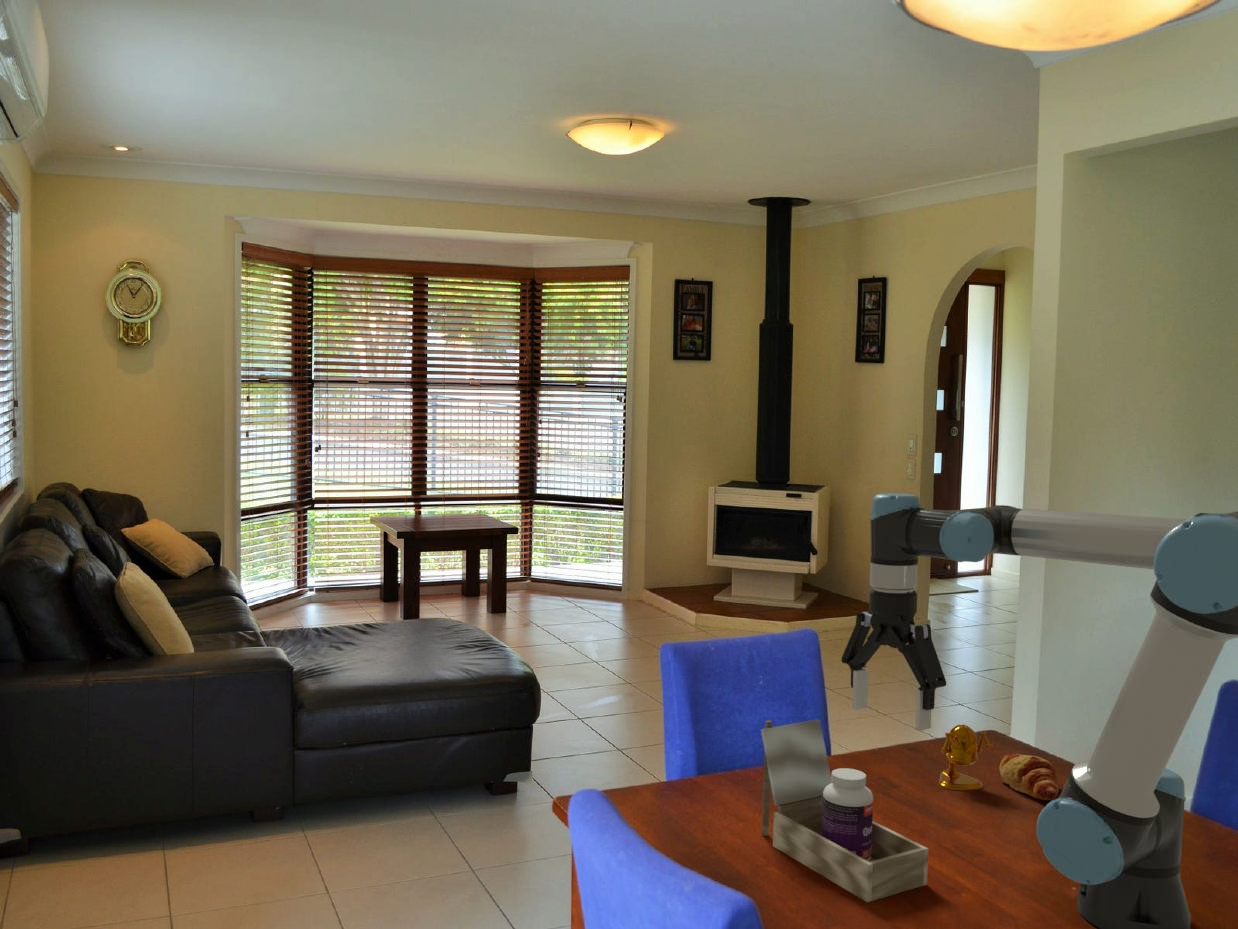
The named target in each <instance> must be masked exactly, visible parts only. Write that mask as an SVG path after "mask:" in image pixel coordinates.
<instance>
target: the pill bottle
mask: <svg viewBox="0 0 1238 929" xmlns="http://www.w3.org/2000/svg"><path fill="white" fill-rule="evenodd" d="M830 775H831V780H832V783H831V784H829V785H827V786H826V787H825V789H824V791H823V812H822V836H823V837H824V838H826V839H828V840H830V841H832V842H834V843H835V844H837V845H839V846H841V847H843V848H845V849H846V850H848V851H850V852H852V853H854V854H855V855H857V856H859V857H861V858H863V859H865V860H866V861H868V862H870V859H871V844H872V821H873V819H874V817H873V816H874V815H873V813H874V794H873V793H872V790H871V789H869V787H867V786H866V785H867V774H866V773H864V772H863V771H861V770H858V769H854V768H847V767H846V768H845V767H844V768H843V767H840V768H836V769H833V770H832V771H831V774H830Z"/></svg>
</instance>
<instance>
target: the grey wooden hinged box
mask: <svg viewBox="0 0 1238 929" xmlns="http://www.w3.org/2000/svg"><path fill="white" fill-rule="evenodd" d="M821 723H822V722H821V720H820V718H819V719H812V720H807V721H801V722H795V723H789V724H785V725H778V726H774V724H773V721H772V720H765V726H764V728H762V729H760V732H761V737H762V743H763V749H764V756H763V757H764V759H763V761H764V762H763V787H762V788H763V789H762V793H763V794H762V816H761V817H762V819H761V835H762V836H763V837H768V836H770V812H771V811H770V808H771V807H770V806H771V794H772V799H773V805H774V806H775V807H776V806H777V811H776V812H773V825H772V826H773V827H772V828H773V829H772V830H773V833H772V847H774V848H775V849H777V850H778V851H780V852H782V853H783V854H786V855H787V856H789V857H790V858H792V859H794V860H796V861H797V862H799V863H800V864H802V865H804V866H805V867H807V868H808V869H811V870H812V871H814V872H816V873H817V874H819V875H821V876H822V877H823V878H825V879H827V880H829V881H830V882H833V883H834V884H836V885H837V886H839V887H841V888H842V889H844V890H845V891H847V892H849V893H851V894H852V895H854V896H856V897H858V898H859V899H861V900H862V901H864V902H866V903H871V902H873V901H876V900H879V899H883V898H887V897H889V896H893V895H897V894H899V893H903V892H906V891H910V890H913V889H916V888H921V887H924V886H926V885H928V871H929V870H928V869H929V866H928V864H929V848H928V847H927V846H924V845H922V844H920V843H918V842H916V841H914V840H912V839H910V838H908V837H906V836H904V835H902V834H900V833H898V832H896V831H894V830H892V829H890V828H888V827H886V826H884V825H882V824H880V823H877V822H876V821H874V820H872V844H871V859H870V862H868V861H866V860H865V859H863V858H861V857H859V856H857V855H855V854H854V853H852V852H850V851H848V850H846V849H845V848H843V847H841V846H839V845H837V844H835V843H834V842H832V841H830V840H828V839H826V838H824V837H823V836H822V812H823V791H824V789H825V787H826V786H827V785H829V784H831V783H832V780H831V775H832V774H831V771H830V765H829V760H828V754H827V750H826V744H825V739H824V734H823V729H822V724H821Z"/></svg>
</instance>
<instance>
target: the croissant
mask: <svg viewBox="0 0 1238 929" xmlns="http://www.w3.org/2000/svg"><path fill="white" fill-rule="evenodd" d="M999 773H1000V776H1001V779H1000V780H1001V783H1004V784H1006V785H1009V788H1011V789H1012V790H1014V791H1017V792H1019V793H1022V794H1023V793H1024V794H1026V795H1028V796H1029V797H1031V798H1035V799H1038V800H1041V801H1052V800H1055V799H1057V798H1058V797H1057V796H1058V794H1059V786H1058V782H1059V781H1058V777H1057V771H1056V769H1055V767H1054V766H1053V764H1052V763H1051V762H1049V761H1048V759H1044V758H1042V757H1040V756H1038V755H1037V756H1035V755H1027V754H1025V755H1024V754H1019V753H1011V754H1007V755H1005V756H1004V757H1003V758H1001V761H1000V764H999Z"/></svg>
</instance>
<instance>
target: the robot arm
mask: <svg viewBox="0 0 1238 929" xmlns="http://www.w3.org/2000/svg"><path fill="white" fill-rule="evenodd" d="M870 515H871V516H870V519H869V522H870V564H869V566H870V567H869V586H870V587H872V588H871V589H870V590H869V593H868V594H869V597H868V598H869V604H868V606H869V607H868V608H869V611H862V612H861V611H860V612H857V614H856V619H855V626H854V628H853V630H852V632H851V634H850V637H849V640H848V643H847V644H846V646H845V649H844V652H843V653H842V655H841V663H842V664H846V665H847V666H848V667H849V669H850V687H851V688H852V710H854V711H857V710H858V711H859V710H863V709H867V708H868V699H869V698H868V697H869V696H868V695H869V694H868V693H869V691H868V690H869V689H868V688H869V687H868V686H869V669H868V667H867V663H869V661H870V660H871V659H872V657H873V656H874V655H875V653H876V652H877V651H878V650H879V649H880V647H881V646H889V647H890V648H893V649H897V650H898V652H899V653H900V654H902V656H903V657H904V659H905V661H906V662H907V665H908V667H909V668H910V670H911V672H912V673H913V676H914V677H915V679H916V681H917V682H918V685H919V687H918V688H916V690H915V691H916V692H915V693H916V694H915V727H914V728H915V730H916V731H918V732H919V731H925V730H929V729H931V728H932V710H934V708H935V702H936V701H935V698H936V697H935V696H936V694H935V693H936V689H938V688H943V687H946V686H947V679H946V677H945V675H944V671H943V668H942V666H941V662H940V660H939V657H938V655H937V650H936V647H935V645H934V642H933V639H932V627H931V625H930V624H929V623H927V624H920V625H919V624H916V623H915V620H914V619H915V618H914V617H915V615H916V614H917V612H918V593H917V592H916V590H915V589H916V588H917V587H918V574H919V573H918V570H919V569H918V567H919V566H918V564H919V556H920V557H927V558H936V559H940V560H941V559H943V560H950V561H955V562H957V563H962V562H963V563H964V562H965V563H966V562H967V563H970V562H971V563H978V562H981V561H983V560H985V558H986V557H987V556H989V555H994V554H999V555H1009V556H1017V557H1018V556H1021V557H1022V556H1023V557H1031V558H1032V557H1033V558H1043V559H1052V560H1062V561H1069V562H1070V561H1072V562H1079V563H1081V562H1082V563H1088V564H1099V565H1109V566H1118V567H1127V568H1128V567H1129V568H1137V569H1146V570H1153V573H1154V575H1155V577H1156V580H1155V583H1154V585H1153V587H1152V589H1151V592H1150V594H1149V598H1150V601H1151V603H1152V604H1153V606H1154V609H1155V614H1154V617H1153V619H1152V621H1151V624H1150V625H1149V627H1148V630H1147V632H1146V635H1145V636H1144V639H1143V641H1142V643H1141V645H1140V648H1139V650H1138V652H1137V655H1136V657H1135V658H1134V661H1133V663H1132V666H1131V668H1130V670H1129V671H1128V674H1127V676H1126V678H1125V681H1124V683H1123V684H1122V687H1121V689H1120V691H1119V693H1118V697H1117V699H1116V701H1115V703H1114V706H1113V707H1112V710H1111V712H1110V714H1109V716H1108V718H1107V721H1106V723H1105V725H1104V727H1103V729H1102V731H1101V734H1100V736H1099V738H1098V741H1097V743H1096V745H1095V747H1094V749H1093V752H1092V754H1091V755H1090V758H1089V760H1084V761H1080V762H1077V763H1075V764H1074V765H1073V767H1072V769H1071V770H1070V773H1069V775H1068V778H1067V779H1066V782H1065V784H1064V786H1063V788H1062V791H1061V792H1060V795H1059V796H1058V797H1057V798H1054V799H1051V800H1049V802H1048V803H1047V804H1046V806H1045V807H1043V809H1042V810H1041V811H1040V812H1039V815H1038V818H1037V821H1036V836H1037V840H1038V842H1039V844H1040V846H1041V848H1042V852H1043V854H1044V856H1045V858H1046V859H1047V861H1048V862H1049V864H1051V866H1053V867H1054V869H1055V870H1057V871H1058V872H1059V873H1061V875H1063V876H1065V877H1066V878H1067V879H1069V880H1071V881H1073V882H1075V883H1079V884H1080V886H1079V888H1078V892H1077V910H1078V912H1079V914H1080V915H1081V917H1082V918H1084V920H1086V921H1087V922H1089V923H1090V924H1091V925H1094V926H1095V927H1096V928H1099V929H1191V925H1192V924H1191V921H1192V920H1191V919H1192V916H1191V911H1190V909H1189V906H1188V901H1187V900H1188V899H1187V897H1186V894H1185V889H1184V886H1183V883H1182V879H1181V860H1182V859H1181V858H1182V844H1183V830H1184V828H1183V827H1184V816H1185V815H1184V814H1185V804H1186V803H1185V802H1187V798H1186V796H1185V793H1186V792H1185V782H1184V779H1183V777H1182V776H1181V775H1180V774H1178V773H1177V772H1174V771H1173V770H1171V769H1169V768H1166V767H1167V765H1168V763H1169V761H1170V759H1171V757H1172V755H1173V752H1174V750H1175V748H1176V746H1177V745H1178V742H1179V740H1180V738H1181V736H1182V734H1183V731H1184V730H1185V728H1186V726H1187V724H1188V721H1189V720H1190V717H1191V714H1192V713H1193V711H1194V709H1195V706H1196V704H1197V702H1198V700H1199V698H1200V696H1201V694H1202V692H1203V690H1204V688H1205V686H1206V684H1207V681H1208V680H1209V678H1210V675H1211V674H1212V671H1213V669H1214V667H1215V664H1216V663H1217V661H1218V659H1219V656H1220V654H1221V652H1222V650H1223V648H1224V646H1225V644H1226V642H1227V641H1229V640H1233V639H1236V638H1238V510H1237V511H1233V512H1226V513H1213V512H1212V513H1211V512H1210V513H1209V512H1208V513H1207V512H1196V513H1195V514H1193V515H1192V516H1191V517H1190V518H1174V517H1159V516H1157V517H1156V516H1144V515H1142V516H1141V515H1129V514H1127V515H1125V514H1115V513H1114V514H1111V513H1110V514H1108V513H1099V512H1098V513H1096V512H1095V513H1094V512H1082V511H1068V510H1067V511H1066V510H1065V511H1064V510H1053V509H1051V510H1049V509H1036V508H1035V509H1033V508H1020V507H1016V506H1012V505H1007V504H1006V505H1004V504H1000V505H999V504H997V505H996V504H995V505H992V506H987V507H979V508H978V507H976V508H966V509H964V508H963V509H957V510H956V509H955V510H944V509H943V510H941V509H929V508H924V507H921V503H920V497H919V496H918V495H916V494H910V493H902V492H901V493H899V492H898V493H897V492H896V493H895V492H894V493H893V492H890V493H889V492H888V493H887V492H885V493H878V494H876V495H875V496H874V497H872V505H871V514H870ZM871 628H872V631H871V632H870V629H871ZM869 632H870V633H869Z"/></svg>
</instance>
